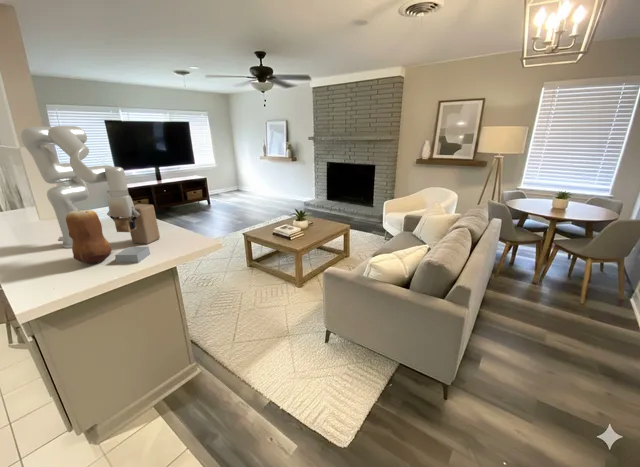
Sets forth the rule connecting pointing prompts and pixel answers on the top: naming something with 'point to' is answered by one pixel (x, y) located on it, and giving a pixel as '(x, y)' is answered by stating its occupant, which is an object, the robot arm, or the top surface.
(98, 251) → the butternut squash
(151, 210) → the block
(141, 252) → the pedestal
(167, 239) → the top surface
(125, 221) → the walnut cube
